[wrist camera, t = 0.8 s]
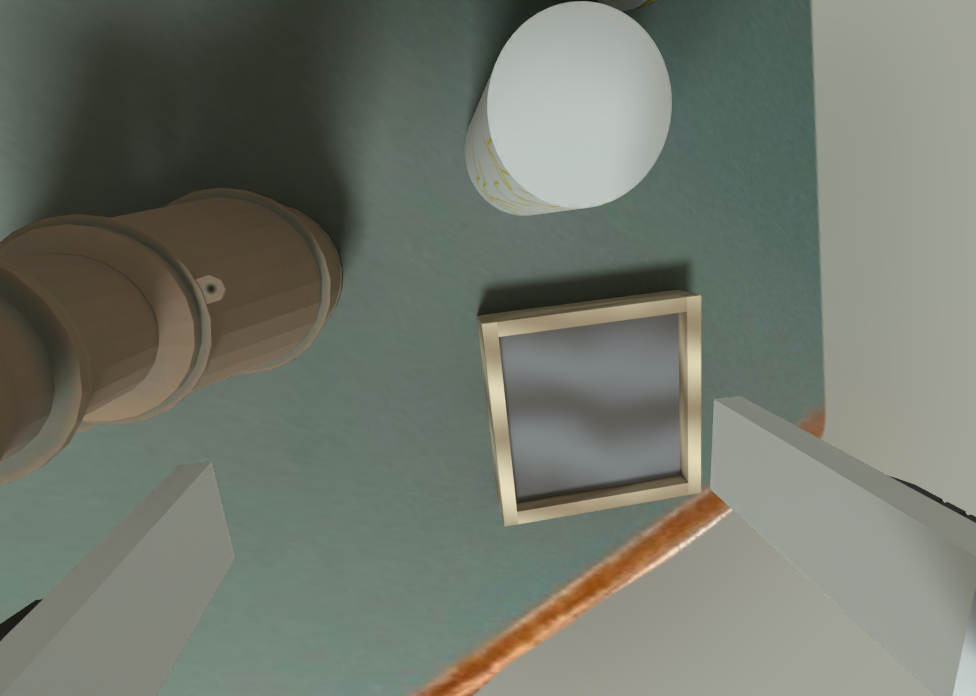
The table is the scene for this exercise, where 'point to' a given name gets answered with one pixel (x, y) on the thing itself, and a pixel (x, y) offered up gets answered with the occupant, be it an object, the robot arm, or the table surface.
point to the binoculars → (150, 311)
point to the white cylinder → (569, 112)
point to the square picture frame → (593, 403)
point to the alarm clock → (625, 4)
